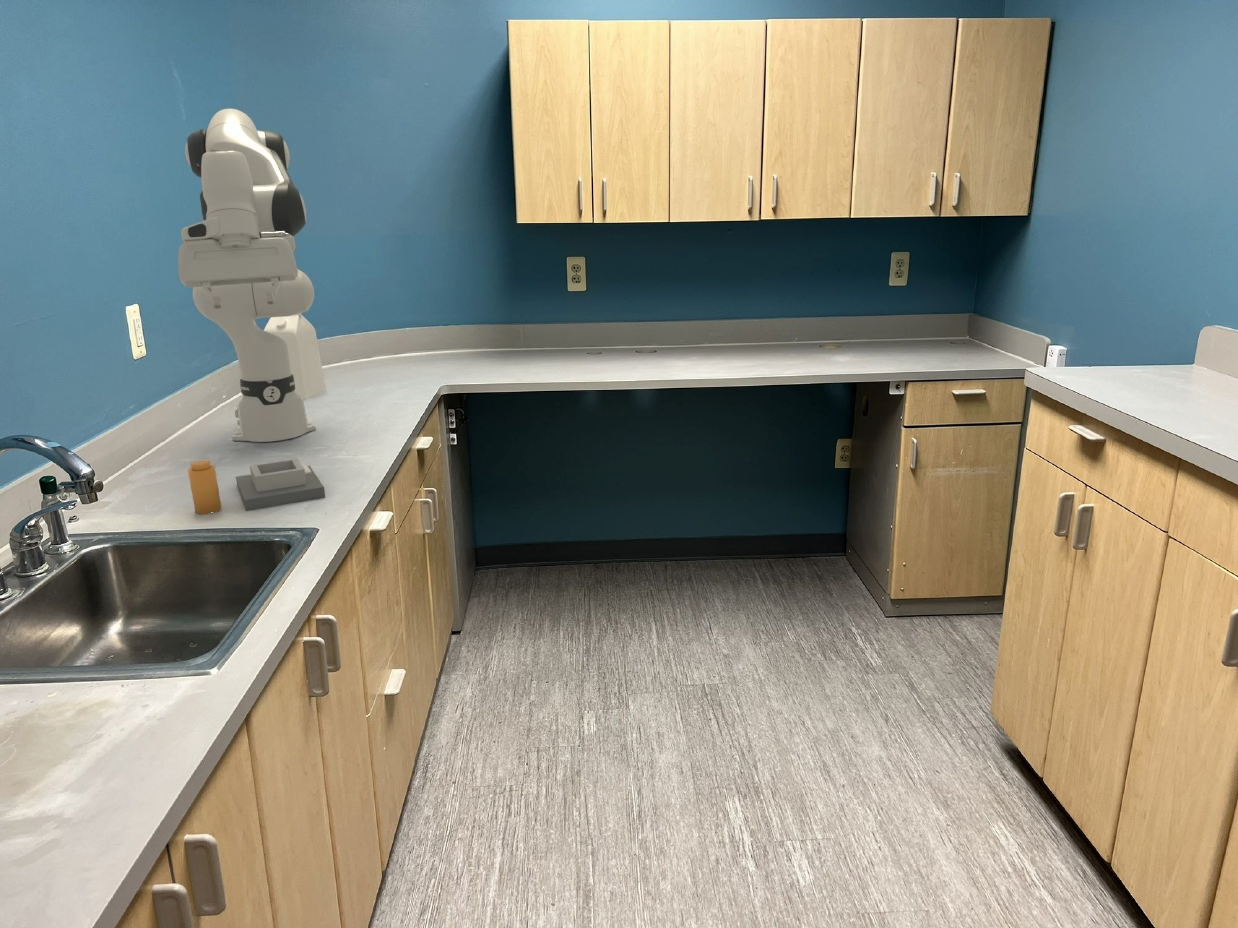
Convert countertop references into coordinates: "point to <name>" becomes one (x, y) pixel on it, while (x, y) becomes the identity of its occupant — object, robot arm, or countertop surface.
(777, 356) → the countertop surface
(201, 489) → the orange bottle
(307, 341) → the milk
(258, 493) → the plate
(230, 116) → the robot arm
